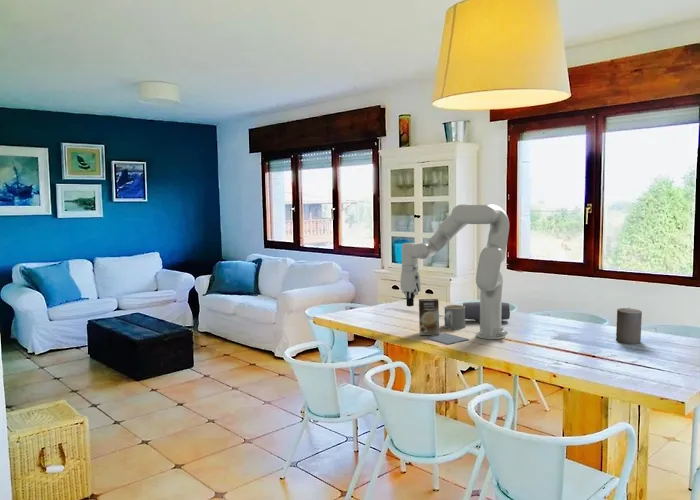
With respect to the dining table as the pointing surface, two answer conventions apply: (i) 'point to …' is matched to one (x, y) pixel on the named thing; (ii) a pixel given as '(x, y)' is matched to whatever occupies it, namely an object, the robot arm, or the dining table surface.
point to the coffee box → (429, 316)
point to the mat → (446, 338)
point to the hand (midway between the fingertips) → (410, 305)
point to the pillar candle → (628, 326)
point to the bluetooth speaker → (474, 311)
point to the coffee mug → (454, 316)
